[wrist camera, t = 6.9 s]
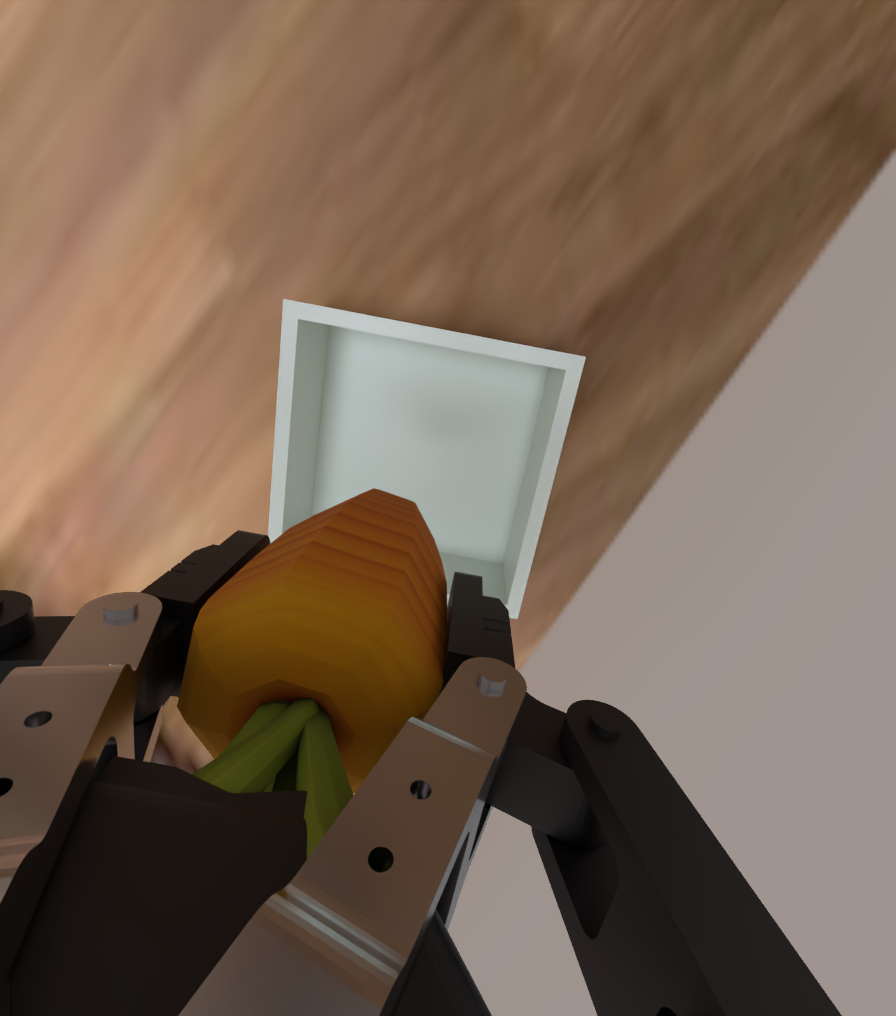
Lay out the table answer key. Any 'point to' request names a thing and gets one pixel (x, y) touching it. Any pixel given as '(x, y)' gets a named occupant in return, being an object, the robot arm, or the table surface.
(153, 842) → the robot arm
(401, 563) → the carrot
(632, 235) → the table surface
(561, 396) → the bin
